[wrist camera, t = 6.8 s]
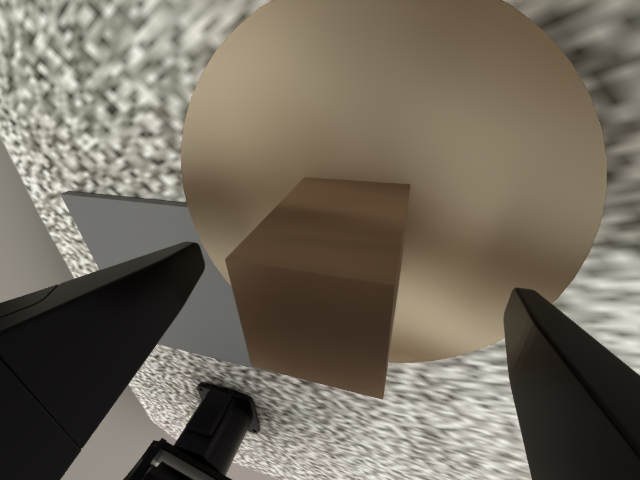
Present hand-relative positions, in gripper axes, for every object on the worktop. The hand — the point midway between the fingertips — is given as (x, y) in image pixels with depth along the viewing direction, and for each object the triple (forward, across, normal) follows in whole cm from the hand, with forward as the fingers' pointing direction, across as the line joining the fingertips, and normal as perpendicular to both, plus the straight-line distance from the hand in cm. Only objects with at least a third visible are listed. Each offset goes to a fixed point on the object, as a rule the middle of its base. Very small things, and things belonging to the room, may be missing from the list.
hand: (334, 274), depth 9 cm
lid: (+4, 0, 0) cm, 4 cm away
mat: (+9, +16, +11) cm, 21 cm away
